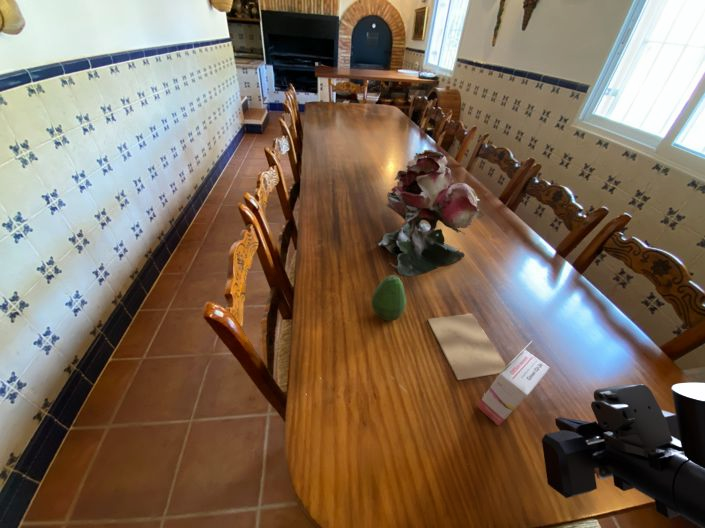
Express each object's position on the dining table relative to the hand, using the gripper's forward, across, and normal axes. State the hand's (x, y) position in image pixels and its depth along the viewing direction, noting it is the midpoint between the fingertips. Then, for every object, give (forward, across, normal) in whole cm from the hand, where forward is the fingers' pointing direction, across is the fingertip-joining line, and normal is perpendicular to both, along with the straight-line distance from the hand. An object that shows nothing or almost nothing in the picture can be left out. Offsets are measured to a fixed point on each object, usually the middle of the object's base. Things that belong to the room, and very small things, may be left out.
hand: (557, 421), depth 44 cm
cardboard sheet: (+23, 0, -7) cm, 24 cm away
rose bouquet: (+50, -3, -34) cm, 61 cm away
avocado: (+31, +16, -15) cm, 38 cm away
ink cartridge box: (+14, 0, +2) cm, 14 cm away
